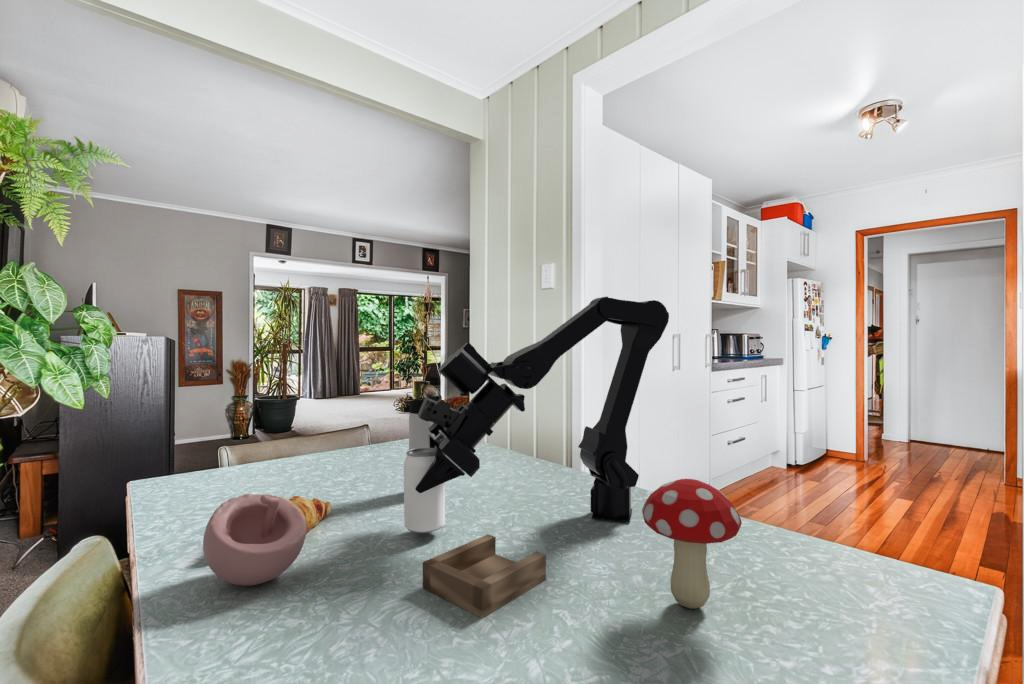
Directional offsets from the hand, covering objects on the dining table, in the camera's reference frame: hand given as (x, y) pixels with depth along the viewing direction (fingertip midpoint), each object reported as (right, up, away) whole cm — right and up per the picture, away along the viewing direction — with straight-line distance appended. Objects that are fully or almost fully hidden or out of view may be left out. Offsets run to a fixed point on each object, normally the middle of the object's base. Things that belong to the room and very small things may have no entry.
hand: (415, 485), depth 80 cm
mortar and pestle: (-18, -8, -15) cm, 25 cm away
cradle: (+12, -8, -16) cm, 21 cm away
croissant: (-22, -9, 0) cm, 23 cm away
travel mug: (-2, -8, +22) cm, 24 cm away
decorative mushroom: (+36, -8, -21) cm, 43 cm away
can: (+1, -7, 0) cm, 7 cm away
